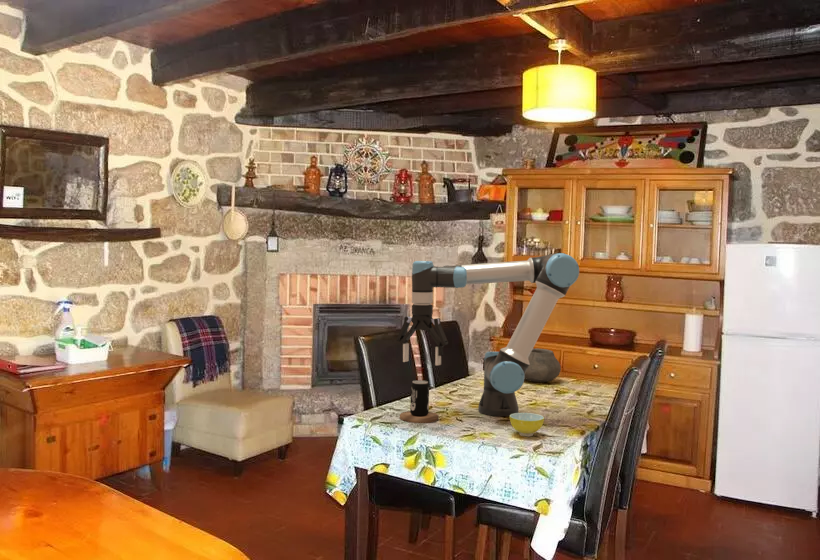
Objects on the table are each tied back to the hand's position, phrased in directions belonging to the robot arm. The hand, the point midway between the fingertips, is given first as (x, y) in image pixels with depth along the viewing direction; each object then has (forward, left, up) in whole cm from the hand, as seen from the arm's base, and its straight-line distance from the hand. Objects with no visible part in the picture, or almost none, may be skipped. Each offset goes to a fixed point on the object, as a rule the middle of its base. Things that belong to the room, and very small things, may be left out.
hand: (421, 363), depth 252 cm
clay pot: (-4, -100, -20) cm, 102 cm away
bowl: (-40, -3, -20) cm, 45 cm away
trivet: (0, 0, -20) cm, 20 cm away
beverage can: (0, 0, -19) cm, 19 cm away
